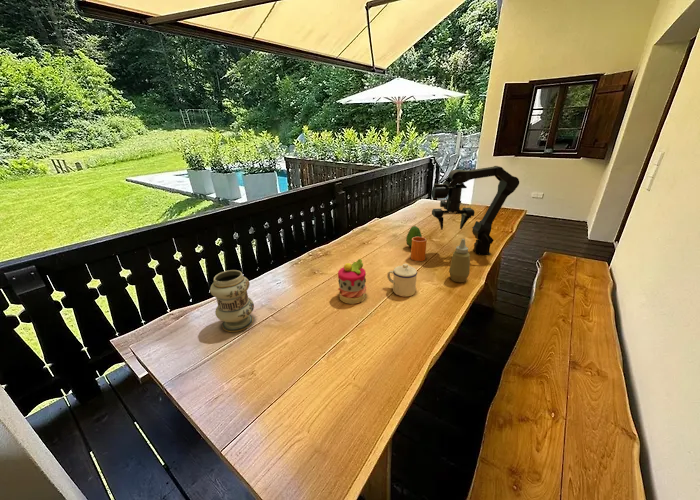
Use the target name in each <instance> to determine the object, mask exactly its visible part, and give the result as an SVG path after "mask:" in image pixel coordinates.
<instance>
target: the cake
mask: <svg viewBox="0 0 700 500" xmlns="http://www.w3.org/2000/svg"><path fill="white" fill-rule="evenodd" d="M363 266H364V263H363V260H362V259H361V258H358V259H357V260H356V261H354V262H352V263H350V262H346V263H345V264H344V265H343V267H341V268H340V269H339V270H338V271H337V279H338V282H337V283H338V289H337V290H338V291H339V300H340V301H341V302H343V303H345V304H350V305H352V304H353V305H355V304H359V303H361V302H363V301H364V300H365V299H366V292H367V285H366V282H367V279H366V275H367V274H366V270H365V268H363Z"/></svg>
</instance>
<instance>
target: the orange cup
mask: <svg viewBox="0 0 700 500" xmlns="http://www.w3.org/2000/svg"><path fill="white" fill-rule="evenodd" d="M427 240H428V239H427V238H426V237H424V236H422V237H413V238H412V245H411V247H410V248H411V249H410V259H411V260H412V261H415V262H423V261H425V260H426V253H427V242H428V241H427Z"/></svg>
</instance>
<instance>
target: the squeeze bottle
mask: <svg viewBox="0 0 700 500" xmlns="http://www.w3.org/2000/svg"><path fill="white" fill-rule="evenodd" d="M470 266H471V254H470V253H469V247H467V246H466V239H465V238H461V240H460V243H459V245H457V246H455V250H454V251H453V253H452V256H451V261H450V265H449V269H448V270H449V271H448V272H449V277H450V280H451V281H452V282H454V283H455V282H456V283H465V282H466V281H467V279H468V278H469V275H470V270H471V267H470Z"/></svg>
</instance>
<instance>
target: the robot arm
mask: <svg viewBox="0 0 700 500" xmlns="http://www.w3.org/2000/svg"><path fill="white" fill-rule="evenodd" d="M489 177H494V178H496V180H498V183H497V184H498V185H497V192H496V194H495V196H494V198H493V199H492V200H491V203H490V205H489V206H488V208H487V210H486V212H485V214H484V216H483V217H482V218H481V220H479V221H478V220H475V223H474V225H473V226H472V227H471V228H472V230H471V233H472V235H473V236H474V238H475V242H474V245H473V248H472V250H473V252H474V253H475V254H476V255H479V256H480V255H481V256H482V255H483V256H484V255H488V256H489V255H491V252H490V249H491V245H492V244H493V243H494V238H493V237H492V236H491V232H492V226H493V223H494V221H495V219H496V217H497V216H498V214H499V212H500V211H501V209H502V207H503V205H504V204H505V202H506V200H507V199H508V197H509V196H510V195H511V194H513V193H514V192H515V191H516V190H517V188H518V187H519V185H520V179H519V178H518V177H517V176H514V175H512V174H511V173H509V172H508V171H506V170H505V168H503V167H502V166H499V165H493V166H487V167H481V168H477V169H476V168H475V169H452V170H450V172H449V173H448V176H447V177H446V179H445V180H444V181H443V183H433V186H432V188H431V190H430V191H431V193H430V194H431V195H430V196H431V199H433V200H435V199H436V200H437V199H439V201H440V202H439V207H440V208H432V210H431V215H432V216H433V217H434V218H436V219H437V221H438V223H439V227H440V230H441V231H443V230H444V215H461V216H460V217H461V219H460V224H459V230H462V229H463V227H464V226H465V225H466V223H467V222H468V220H469V219H472V217H474V216H475V209H473V208H471V207H462V208H461V204H462V200H461V199H462V191H463V189H467V186H466V185H465V183H467V182H468V181H471V180H476V179H482V178H489ZM440 199H442V200H440ZM444 199H446V200H444ZM442 208H443V209H442ZM460 208H461V209H460Z"/></svg>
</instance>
